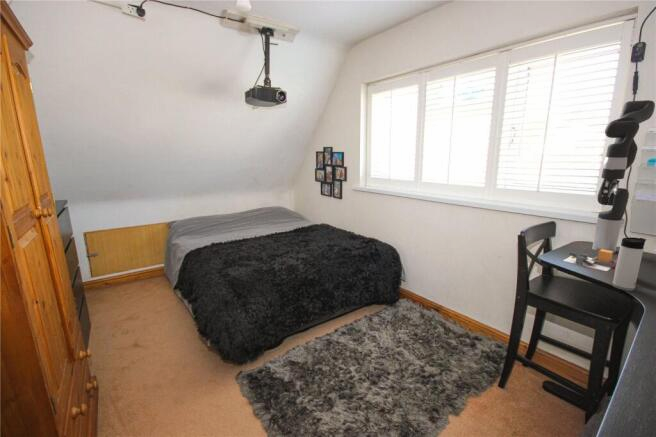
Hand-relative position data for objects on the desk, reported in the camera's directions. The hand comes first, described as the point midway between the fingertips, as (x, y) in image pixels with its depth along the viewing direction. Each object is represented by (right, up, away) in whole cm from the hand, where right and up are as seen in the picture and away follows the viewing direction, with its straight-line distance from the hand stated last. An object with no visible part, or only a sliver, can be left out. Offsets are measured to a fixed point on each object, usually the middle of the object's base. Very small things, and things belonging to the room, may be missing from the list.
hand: (607, 203), depth 141 cm
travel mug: (-12, -34, -20) cm, 41 cm away
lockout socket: (-1, -27, +1) cm, 27 cm away
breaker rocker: (-10, -25, +2) cm, 27 cm away
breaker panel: (-6, -28, +3) cm, 29 cm away
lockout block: (-1, -27, +1) cm, 27 cm away
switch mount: (-10, -27, +2) cm, 29 cm away
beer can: (-5, -32, -13) cm, 35 cm away
